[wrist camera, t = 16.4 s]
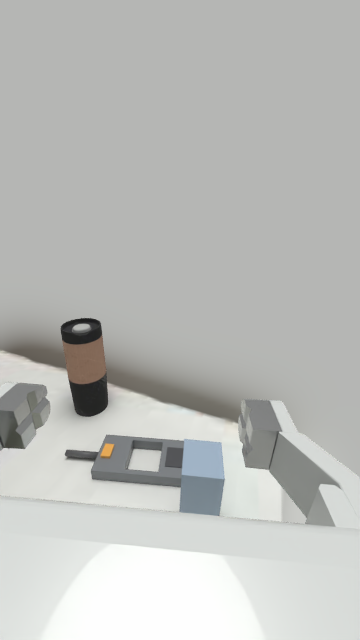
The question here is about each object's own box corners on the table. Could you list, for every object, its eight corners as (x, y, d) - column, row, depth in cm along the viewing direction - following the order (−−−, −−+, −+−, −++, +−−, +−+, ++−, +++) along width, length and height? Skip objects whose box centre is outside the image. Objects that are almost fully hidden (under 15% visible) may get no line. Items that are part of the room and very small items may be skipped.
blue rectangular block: (177, 548, 31) (181, 474, 25) (180, 508, 35) (184, 438, 30) (213, 553, 30) (224, 479, 25) (211, 512, 35) (221, 441, 30)
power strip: (56, 475, 39) (54, 465, 38) (76, 440, 45) (74, 430, 44) (215, 489, 38) (216, 479, 37) (212, 451, 44) (213, 441, 43)
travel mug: (89, 390, 59) (79, 315, 51) (115, 399, 56) (109, 321, 49) (66, 411, 52) (50, 328, 45) (94, 421, 50) (82, 336, 42)
